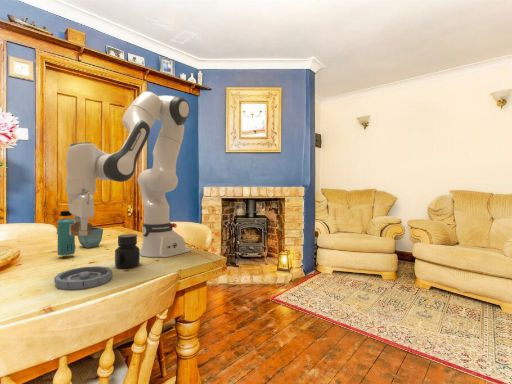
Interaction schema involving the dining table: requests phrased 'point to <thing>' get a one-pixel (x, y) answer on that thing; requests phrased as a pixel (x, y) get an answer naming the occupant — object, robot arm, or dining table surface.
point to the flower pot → (91, 238)
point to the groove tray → (82, 283)
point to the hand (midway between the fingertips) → (80, 228)
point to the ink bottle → (127, 252)
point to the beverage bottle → (65, 235)
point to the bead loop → (76, 231)
